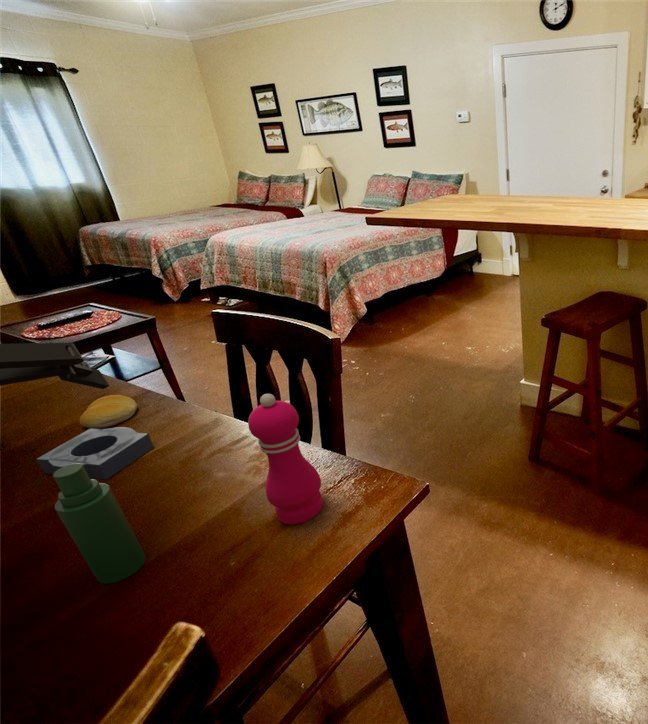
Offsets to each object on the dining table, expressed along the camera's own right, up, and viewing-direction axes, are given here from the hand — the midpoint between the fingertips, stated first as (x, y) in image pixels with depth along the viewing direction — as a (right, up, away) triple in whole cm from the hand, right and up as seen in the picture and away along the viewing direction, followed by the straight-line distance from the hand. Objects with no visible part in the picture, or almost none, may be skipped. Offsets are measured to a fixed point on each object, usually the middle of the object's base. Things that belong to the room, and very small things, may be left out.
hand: (49, 410), depth 61 cm
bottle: (+9, -21, 0) cm, 23 cm away
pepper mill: (+28, -16, +10) cm, 34 cm away
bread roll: (-22, -5, +33) cm, 41 cm away
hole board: (-13, -11, +21) cm, 27 cm away
